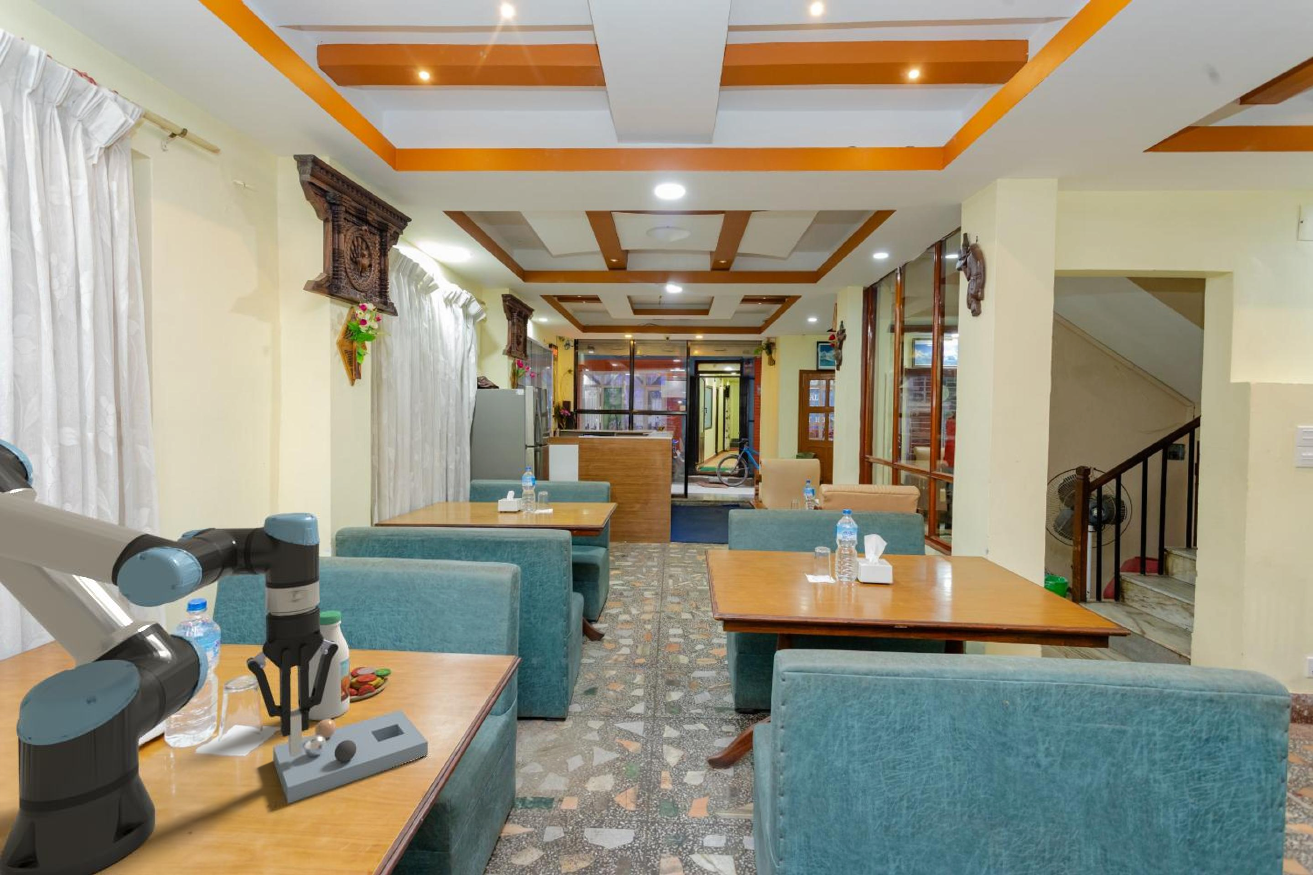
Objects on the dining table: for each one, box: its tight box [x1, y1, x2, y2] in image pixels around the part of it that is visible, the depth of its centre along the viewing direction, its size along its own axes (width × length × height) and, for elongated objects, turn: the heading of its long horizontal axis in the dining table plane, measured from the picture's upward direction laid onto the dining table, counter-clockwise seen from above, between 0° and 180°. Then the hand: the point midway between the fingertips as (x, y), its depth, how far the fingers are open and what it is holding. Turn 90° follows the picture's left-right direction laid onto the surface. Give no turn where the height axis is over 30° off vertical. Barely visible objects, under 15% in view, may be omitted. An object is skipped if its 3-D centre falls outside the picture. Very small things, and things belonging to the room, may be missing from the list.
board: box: [272, 709, 429, 805], centre depth 103 cm, size 21×15×2 cm
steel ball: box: [304, 734, 326, 756], centre depth 99 cm, size 3×3×3 cm
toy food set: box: [350, 666, 392, 702], centre depth 130 cm, size 13×13×3 cm
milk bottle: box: [309, 610, 351, 721], centre depth 119 cm, size 8×8×20 cm
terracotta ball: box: [314, 718, 337, 739], centre depth 104 cm, size 3×3×3 cm
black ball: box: [335, 740, 356, 762], centre depth 97 cm, size 3×3×3 cm
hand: (295, 751), depth 97 cm, fingers closed
